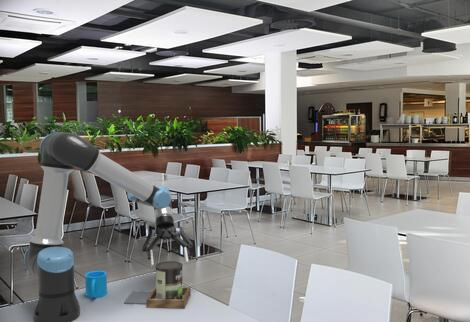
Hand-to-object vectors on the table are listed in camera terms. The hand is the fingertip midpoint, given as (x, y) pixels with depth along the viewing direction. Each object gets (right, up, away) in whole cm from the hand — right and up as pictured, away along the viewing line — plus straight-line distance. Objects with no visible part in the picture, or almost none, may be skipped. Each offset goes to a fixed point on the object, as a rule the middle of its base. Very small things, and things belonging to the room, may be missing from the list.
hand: (170, 264), depth 180 cm
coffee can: (0, -13, -5) cm, 14 cm away
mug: (-29, -12, 0) cm, 32 cm away
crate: (0, -13, -5) cm, 14 cm away
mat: (-11, -12, -2) cm, 17 cm away
